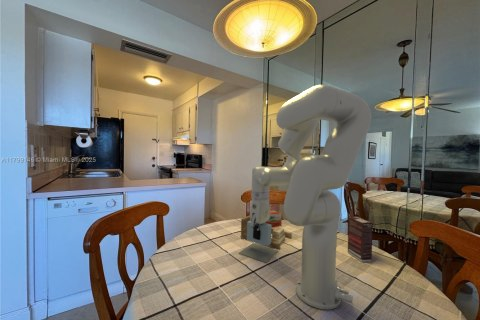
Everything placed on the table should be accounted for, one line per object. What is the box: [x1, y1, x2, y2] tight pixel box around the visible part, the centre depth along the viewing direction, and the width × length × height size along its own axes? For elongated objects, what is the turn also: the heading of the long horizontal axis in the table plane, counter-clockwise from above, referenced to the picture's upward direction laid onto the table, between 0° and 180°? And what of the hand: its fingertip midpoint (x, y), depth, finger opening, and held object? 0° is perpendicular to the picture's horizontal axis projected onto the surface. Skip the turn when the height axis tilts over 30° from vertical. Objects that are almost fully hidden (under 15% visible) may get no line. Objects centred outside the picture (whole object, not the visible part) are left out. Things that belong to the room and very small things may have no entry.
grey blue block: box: [246, 221, 273, 247], centre depth 86 cm, size 10×4×8 cm, turn 56°
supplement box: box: [347, 216, 374, 263], centre depth 83 cm, size 9×5×16 cm, turn 9°
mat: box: [238, 242, 279, 264], centre depth 85 cm, size 13×12×1 cm
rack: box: [240, 214, 293, 251], centre depth 101 cm, size 21×16×10 cm
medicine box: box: [266, 210, 282, 228], centre depth 121 cm, size 15×8×8 cm, turn 116°
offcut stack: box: [271, 226, 286, 245], centre depth 98 cm, size 4×8×6 cm, turn 146°
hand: (258, 237), depth 86 cm, fingers closed on grey blue block, 3 cm apart
